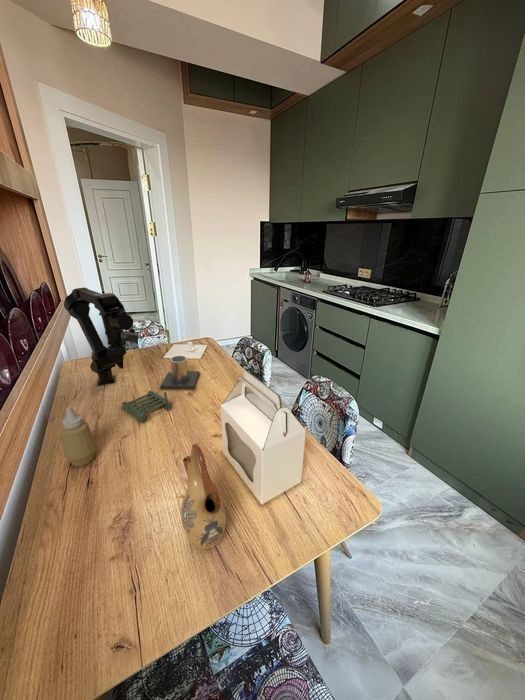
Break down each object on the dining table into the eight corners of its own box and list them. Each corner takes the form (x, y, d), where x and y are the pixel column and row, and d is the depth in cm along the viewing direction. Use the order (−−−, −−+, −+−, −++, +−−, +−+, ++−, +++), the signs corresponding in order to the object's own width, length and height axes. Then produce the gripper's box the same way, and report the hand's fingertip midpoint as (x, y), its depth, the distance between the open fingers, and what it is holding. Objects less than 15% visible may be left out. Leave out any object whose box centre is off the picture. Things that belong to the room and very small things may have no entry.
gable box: (222, 452, 89) (218, 371, 78) (258, 437, 96) (259, 360, 85) (262, 506, 72) (263, 411, 61) (302, 482, 79) (310, 394, 68)
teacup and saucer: (195, 352, 160) (195, 345, 159) (181, 352, 160) (180, 345, 159) (198, 346, 168) (198, 340, 167) (185, 346, 168) (184, 339, 167)
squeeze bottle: (105, 454, 87) (92, 404, 80) (79, 473, 81) (63, 420, 74) (87, 446, 90) (73, 397, 84) (61, 464, 84) (44, 412, 77)
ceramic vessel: (175, 515, 69) (163, 430, 60) (210, 499, 74) (204, 417, 64) (197, 582, 56) (186, 487, 47) (239, 557, 61) (237, 466, 51)
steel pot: (168, 379, 128) (166, 360, 124) (179, 372, 134) (177, 354, 130) (181, 382, 125) (179, 363, 122) (191, 375, 131) (190, 357, 127)
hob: (160, 389, 123) (160, 384, 123) (169, 374, 136) (169, 369, 136) (193, 389, 124) (193, 384, 123) (199, 374, 137) (199, 369, 136)
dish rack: (122, 408, 110) (119, 391, 107) (151, 395, 119) (148, 379, 116) (142, 422, 102) (139, 404, 99) (171, 408, 111) (169, 391, 108)
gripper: (136, 329, 106) (144, 368, 111) (134, 319, 122) (141, 353, 127) (102, 334, 102) (112, 374, 107) (105, 323, 118) (114, 358, 123)
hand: (121, 364), depth 116 cm, fingers open, 9 cm apart
